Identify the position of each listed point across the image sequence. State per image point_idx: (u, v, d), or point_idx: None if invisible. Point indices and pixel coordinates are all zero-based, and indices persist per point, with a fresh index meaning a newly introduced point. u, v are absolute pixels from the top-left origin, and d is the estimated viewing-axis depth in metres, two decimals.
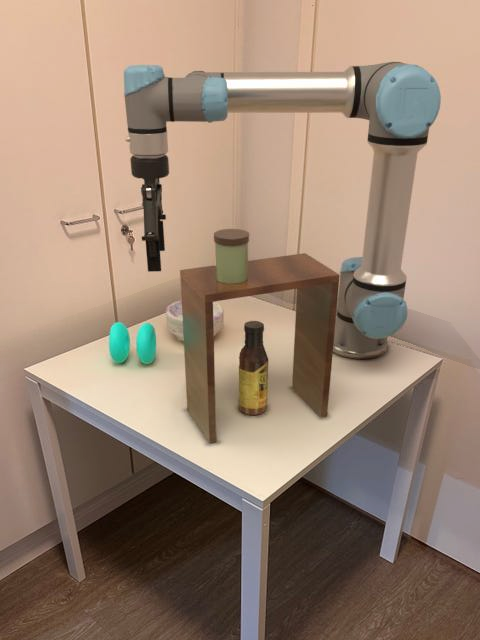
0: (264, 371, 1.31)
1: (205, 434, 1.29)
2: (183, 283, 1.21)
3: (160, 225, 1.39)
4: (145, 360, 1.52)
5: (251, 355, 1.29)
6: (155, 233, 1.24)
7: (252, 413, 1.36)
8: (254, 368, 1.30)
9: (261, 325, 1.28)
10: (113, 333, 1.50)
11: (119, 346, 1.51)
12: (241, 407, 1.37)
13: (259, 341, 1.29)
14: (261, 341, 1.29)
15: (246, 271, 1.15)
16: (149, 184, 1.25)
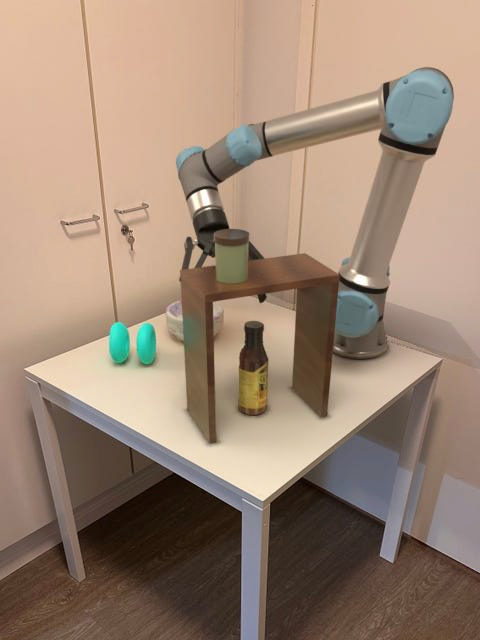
0: (264, 371, 1.31)
1: (205, 434, 1.29)
2: (183, 283, 1.21)
3: None
4: (145, 360, 1.52)
5: (251, 355, 1.29)
6: None
7: (252, 413, 1.36)
8: (254, 368, 1.30)
9: (261, 325, 1.28)
10: (113, 333, 1.50)
11: (119, 346, 1.51)
12: (241, 407, 1.37)
13: (259, 341, 1.29)
14: (261, 341, 1.29)
15: (246, 271, 1.15)
16: (198, 238, 1.37)
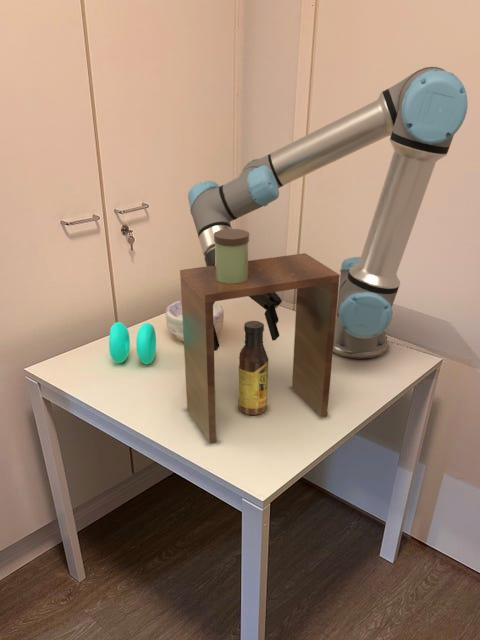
0: (264, 371, 1.31)
1: (205, 434, 1.29)
2: (183, 283, 1.21)
3: (268, 312, 1.36)
4: (145, 360, 1.52)
5: (251, 355, 1.29)
6: None
7: (252, 413, 1.36)
8: (254, 368, 1.30)
9: (261, 325, 1.28)
10: (113, 333, 1.50)
11: (119, 346, 1.51)
12: (241, 407, 1.37)
13: (259, 341, 1.29)
14: (261, 341, 1.29)
15: (246, 271, 1.15)
16: None
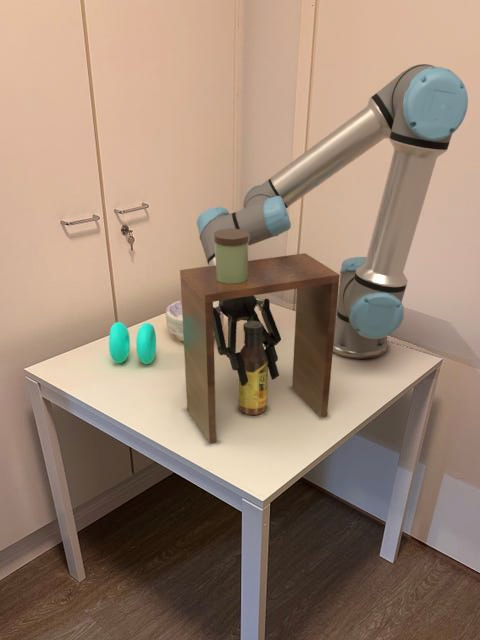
0: (264, 371, 1.31)
1: (205, 434, 1.29)
2: (183, 283, 1.21)
3: (267, 351, 1.32)
4: (145, 360, 1.52)
5: (251, 355, 1.29)
6: (220, 346, 1.29)
7: (252, 413, 1.36)
8: (254, 368, 1.30)
9: (260, 325, 1.28)
10: (113, 333, 1.50)
11: (119, 346, 1.51)
12: (241, 407, 1.37)
13: (258, 341, 1.29)
14: (261, 341, 1.29)
15: (246, 271, 1.15)
16: (220, 302, 1.33)
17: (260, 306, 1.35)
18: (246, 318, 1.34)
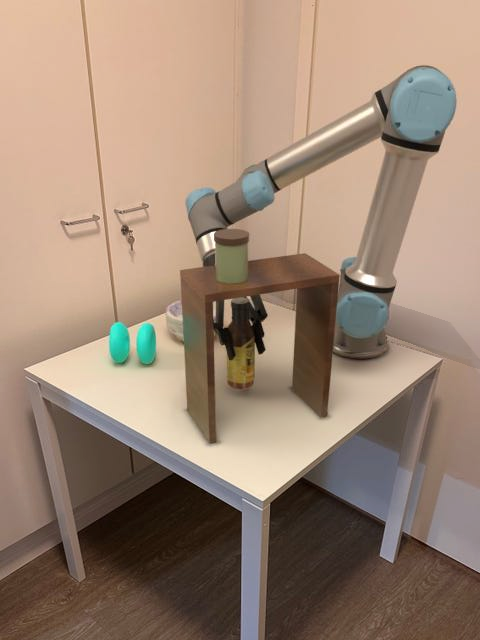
0: (251, 346, 1.36)
1: (205, 434, 1.29)
2: (183, 283, 1.21)
3: (254, 327, 1.37)
4: (145, 360, 1.52)
5: (238, 330, 1.33)
6: None
7: (240, 387, 1.40)
8: (241, 343, 1.34)
9: (247, 301, 1.32)
10: (113, 333, 1.50)
11: (119, 346, 1.51)
12: (229, 382, 1.41)
13: (245, 316, 1.33)
14: (247, 317, 1.33)
15: (246, 271, 1.15)
16: None
17: None
18: None
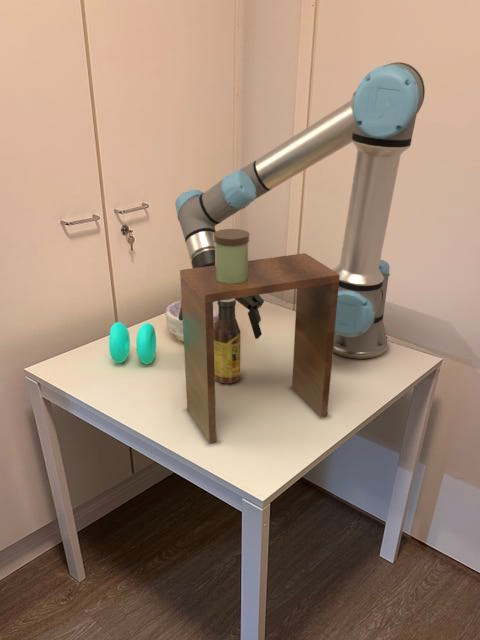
0: (236, 342, 1.43)
1: (205, 434, 1.29)
2: (183, 283, 1.21)
3: (251, 312, 1.45)
4: (145, 360, 1.52)
5: (224, 327, 1.41)
6: (180, 311, 1.40)
7: (226, 382, 1.47)
8: (227, 339, 1.42)
9: (233, 299, 1.39)
10: (113, 333, 1.50)
11: (119, 346, 1.51)
12: (216, 376, 1.48)
13: (231, 314, 1.40)
14: (233, 314, 1.41)
15: (246, 271, 1.15)
16: None
17: None
18: None
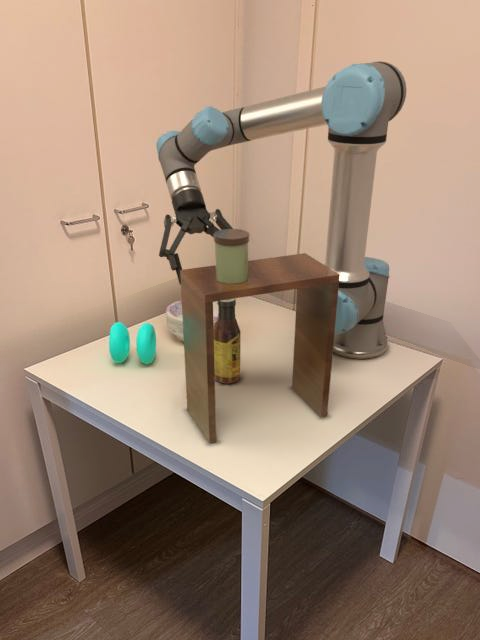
0: (236, 342, 1.43)
1: (205, 434, 1.29)
2: (183, 283, 1.21)
3: None
4: (145, 360, 1.52)
5: (224, 327, 1.41)
6: None
7: (226, 382, 1.47)
8: (227, 339, 1.42)
9: (233, 299, 1.39)
10: (113, 333, 1.50)
11: (119, 346, 1.51)
12: (216, 376, 1.48)
13: (231, 314, 1.40)
14: (233, 314, 1.41)
15: (246, 271, 1.15)
16: None
17: (214, 217, 1.50)
18: (200, 230, 1.49)
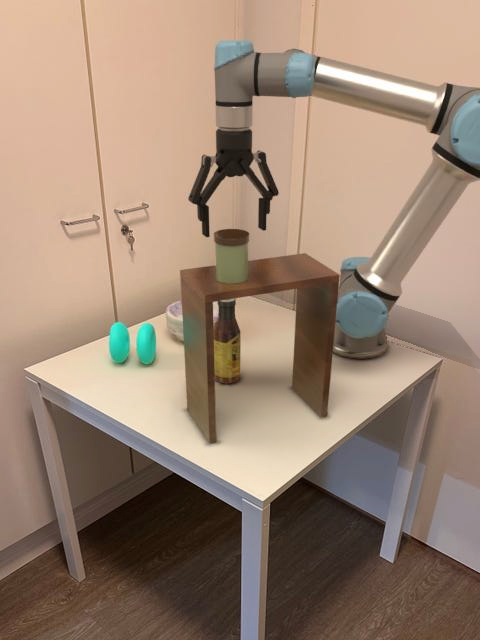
0: (236, 342, 1.43)
1: (205, 434, 1.29)
2: (183, 283, 1.21)
3: (262, 204, 1.40)
4: (145, 360, 1.52)
5: (224, 327, 1.41)
6: (192, 197, 1.33)
7: (226, 382, 1.47)
8: (227, 339, 1.42)
9: (233, 299, 1.39)
10: (113, 333, 1.50)
11: (119, 346, 1.51)
12: (216, 376, 1.48)
13: (231, 314, 1.40)
14: (233, 314, 1.41)
15: (246, 271, 1.15)
16: (217, 154, 1.31)
17: (257, 160, 1.35)
18: None
